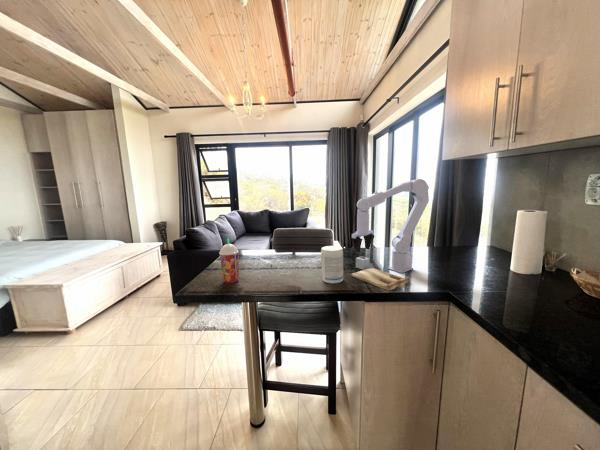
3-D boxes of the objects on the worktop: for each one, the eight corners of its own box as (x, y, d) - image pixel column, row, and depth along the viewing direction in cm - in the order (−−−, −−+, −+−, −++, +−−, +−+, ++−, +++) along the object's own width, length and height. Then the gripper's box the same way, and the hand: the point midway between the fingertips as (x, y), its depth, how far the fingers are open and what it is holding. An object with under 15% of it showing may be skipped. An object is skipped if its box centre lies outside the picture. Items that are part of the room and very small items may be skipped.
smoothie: (244, 278, 111) (241, 236, 108) (232, 285, 104) (229, 240, 101) (230, 276, 115) (227, 235, 112) (217, 283, 108) (213, 239, 104)
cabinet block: (361, 265, 126) (361, 254, 125) (369, 268, 122) (369, 257, 121) (355, 267, 124) (355, 256, 123) (363, 270, 119) (363, 258, 119)
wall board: (371, 269, 119) (371, 265, 119) (409, 282, 103) (409, 277, 102) (351, 276, 112) (351, 271, 111) (388, 290, 95) (388, 285, 95)
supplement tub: (347, 280, 106) (348, 248, 104) (331, 286, 101) (331, 252, 99) (333, 274, 114) (333, 244, 112) (317, 279, 109) (316, 247, 107)
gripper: (365, 221, 125) (365, 246, 128) (346, 224, 117) (346, 251, 119) (377, 222, 120) (376, 248, 122) (358, 225, 111) (358, 254, 113)
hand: (362, 250), depth 120 cm, fingers open, 7 cm apart
